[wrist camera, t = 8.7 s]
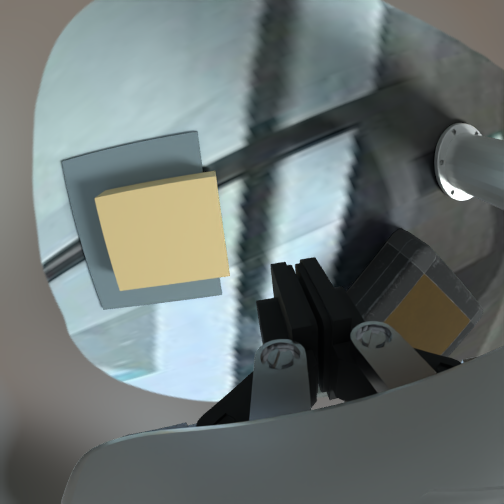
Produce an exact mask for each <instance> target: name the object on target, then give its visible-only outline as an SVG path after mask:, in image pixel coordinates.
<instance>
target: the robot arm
mask: <svg viewBox="0 0 504 504" xmlns="http://www.w3.org/2000/svg"><path fill="white" fill-rule="evenodd" d="M434 167H435V174H436V178H437V181H438V184H439V186H440V187H441V189H442V191H443V192H444V193H445V194H446V195H448V196H449V197H450V198H453V199H455V200H459V201H463V200H467V199H470V198H471V197H475V198H477V199H480V200H482V201H484V202H487V203H489V204H491V205H493V206H496V207H498V208H500V209H502V210H504V140H499V139H495V138H490V137H485V136H482V135H481V134H480V132H479V131H478V130H477V129H476V128H475V127H473V126H472V125H470V124H466V123H455V124H453V125H451V126H449V127H448V128H447V129H446V130H445V131H444V132H443V133H442V135H441V137H440V139H439V141H438V143H437V146H436V151H435V158H434ZM295 271H296V274H295ZM295 271H294V269H293V267H292V265H286V262H281V263H275V264H271V275H272V284H273V293H274V298H271V299H264V300H258V301H256V304H257V311H258V318H259V324H260V331H261V337H262V343H263V345H262V346H261V347H260V348H259V349H258V350H257V351H256V354H255V359H254V371H253V372H252V373H251V374H250V375H248V376H247V377H246V378H245V379H244V380H243V381H242V382H241V383H240V384H238V385H237V386H236V387H235V388H234V389H233V390H232V391H231V392H229V393H228V394H227V395H226V396H225V397H224V398H223V399H221V400H220V401H219V402H218V403H217V404H216V405H214V406H213V407H212V408H211V409H210V410H209V411H207V412H206V413H205V414H204V415H203V416H202V417H201V418H200V419H199V420H198V422H197V423H196V424H192V425H187V423H181V424H177V425H173V426H169V427H164V428H160V429H155V430H150V431H145V432H141V433H136V434H130V435H126V436H123V437H121V438H118V439H114V440H111V441H108V442H105V443H103V444H101V445H98V446H96V447H94V448H92V449H91V450H89V451H88V452H87V453H85V454H84V455H83V456H82V457H81V458H80V460H79V461H78V463H77V464H76V466H75V468H74V470H73V471H72V474H71V476H70V478H69V481H68V483H67V486H66V489H65V492H64V495H63V498H62V502H61V504H504V346H502V347H499V348H497V349H495V350H493V351H490V352H488V353H486V354H484V355H481V356H478V357H473V358H468V359H462V362H461V363H460V362H459V361H457V360H455V359H452V358H449V357H445V356H441V355H438V354H434V353H430V352H427V351H423V350H419V349H416V348H412V347H411V346H410V345H409V344H408V342H407V341H406V340H405V339H404V338H403V337H402V336H401V335H400V334H399V333H398V332H397V331H396V330H395V329H394V328H392V327H391V326H390V325H388V324H385V323H383V322H378V321H368V322H365V321H364V319H363V318H362V316H361V314H360V313H359V311H358V310H357V308H356V307H355V305H354V304H353V302H352V300H351V299H350V297H349V296H348V294H347V293H346V291H345V290H344V288H343V287H341V286H340V287H335V288H334V287H333V285H332V284H331V282H330V280H329V279H328V277H327V276H326V274H325V272H324V271H323V269H322V267H321V266H320V264H319V263H318V261H317V260H316V258H315V257H313V258H307V259H301V260H300V263H299V264H295ZM318 384H319V387H320V390H321V392H327V394H328V397H329V399H330V400H332V399H336V398H339V399H341V400H344V403H341V404H337V405H333V406H328V407H324V408H320V409H315V410H311V408H312V406H313V405H314V404H315V403H316V401H317V393H318Z"/></svg>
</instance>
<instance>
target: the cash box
mask: <svg viewBox="0 0 504 504" xmlns="http://www.w3.org/2000/svg"><path fill="white" fill-rule="evenodd" d="M346 293H347V294H348V296H349V297H350V299H351V300H352V302H353V304H354V305H355V307H356V308H357V310H358V311H359V313H360V314H361V316H362V318H363V319H364V321H365V322H368V321H378V322H383V323H385V324H388V325H390V326H391V327H392V328H394V329H395V330H396V331H397V332H398V333H399V334H400V335H401V336H402V337H403V338H404V339H405V340H406V341H407V342H408V344H409V345H410V346H411V347H412V348H416V349H419V350H423V351H427V352H430V353H434V354H438V355H441V356H445V357H448V356H449V355H450V354H451V353H452V352H453V351H454V350H455V348H456V347H457V346H458V345H459V344H460V343H461V342H462V340H463V339H464V338H465V337H466V336H467V335H468V333H469V332H470V331H471V330H472V328H473V327H474V326H475V325H476V323H477V322H478V321H479V320H480V318H481V316H482V314H483V308H482V307H481V306H480V304H479V303H478V302H477V300H476V299H475V298H474V297H473V295H472V294H471V293H470V292H469V291H468V289H467V288H466V287H465V286H464V285H463V283H462V282H461V281H460V280H459V279H458V277H457V276H456V275H455V274H454V273H453V272H452V270H451V269H450V268H449V267H448V266H447V265H446V264H445V263H444V261H443V260H442V259H441V258H440V257H439V256H438V255H437V254H436V253H435V252H434V250H433V249H432V248H431V247H430V246H429V245H427V244H426V243H424V242H423V241H421V240H420V239H418V238H417V237H415V236H414V235H412V234H411V233H409V232H408V231H405V230H402V229H399V230H397V231H396V232H394V233H393V234H392V236H391V237H390V238H389V240H388V241H387V242H386V243H385V245H384V246H383V247H382V249H381V250H380V251H379V252H378V254H377V255H376V256H375V257H374V259H373V260H372V261H371V262H370V264H369V265H368V266H367V267H366V269H365V270H364V271H363V272H362V274H361V275H360V276H359V277H358V278H357V280H356V281H355V282H354V283H353V284H352V286H351V287H350V288H349V289H348V290H347V292H346Z"/></svg>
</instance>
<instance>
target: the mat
mask: <svg viewBox="0 0 504 504" xmlns="http://www.w3.org/2000/svg"><path fill="white" fill-rule="evenodd" d="M62 165H63V170H64V175H65V180H66V185H67V190H68V194H69V198H70V203H71V207H72V211H73V215H74V219H75V223H76V226H77V230H78V234H79V237H80V241H81V244H82V248H83V251H84V254H85V257H86V261H87V264H88V267H89V270H90V273H91V276H92V279H93V282H94V285H95V288H96V291H97V294H98V296H99V299H100V302H101V304H102V307H103V310H105V309H114V308H123V307H132V306H140V305H148V304H157V303H165V302H172V301H180V300H188V299H195V298H203V297H210V296H217V295H222V290H221V284H220V278H212V279H205V280H198V281H191V282H183V283H176V284H169V285H161V286H154V287H146V288H139V289H131V290H123V291H120V290H119V287H118V283H117V280H116V277H115V274H114V271H113V267H112V264H111V260H110V257H109V254H108V250H107V246H106V243H105V239H104V235H103V232H102V228H101V224H100V220H99V216H98V211H97V207H96V203H95V197H97V196H98V195H99V194H101V193H102V192H104V191H105V190H110V189H114V188H119V187H124V186H129V185H134V184H139V183H144V182H150V181H155V180H161V179H166V178H172V177H178V176H184V175H190V174H197V173H203V169H202V162H201V155H200V147H199V140H198V132H191V133H185V134H179V135H173V136H168V137H162V138H157V139H152V140H147V141H142V142H137V143H132V144H128V145H123V146H119V147H115V148H110V149H106V150H102V151H98V152H94V153H91V154H87V155H83V156H79V157H76V158H72V159H69V160H65V161H62Z"/></svg>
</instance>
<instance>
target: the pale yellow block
mask: <svg viewBox="0 0 504 504" xmlns="http://www.w3.org/2000/svg"><path fill="white" fill-rule="evenodd" d="M95 203H96V207H97V211H98V216H99V220H100V224H101V228H102V232H103V235H104V239H105V243H106V246H107V250H108V254H109V257H110V260H111V264H112V267H113V271H114V274H115V277H116V280H117V283H118V287H119V290H120V291H123V290H131V289H139V288H146V287H154V286H161V285H169V284H176V283H183V282H191V281H198V280H205V279H212V278H219V277H226V276H230V273H229V265H228V258H227V251H226V244H225V238H224V231H223V224H222V217H221V209H220V202H219V195H218V188H217V180H216V173H215V171H210V172H203V173H197V174H190V175H184V176H178V177H172V178H166V179H161V180H155V181H150V182H144V183H139V184H134V185H129V186H124V187H119V188H114V189H110V190H105V191H104V192H102V193H101V194H99V195H98V196H97V197H95Z"/></svg>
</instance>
